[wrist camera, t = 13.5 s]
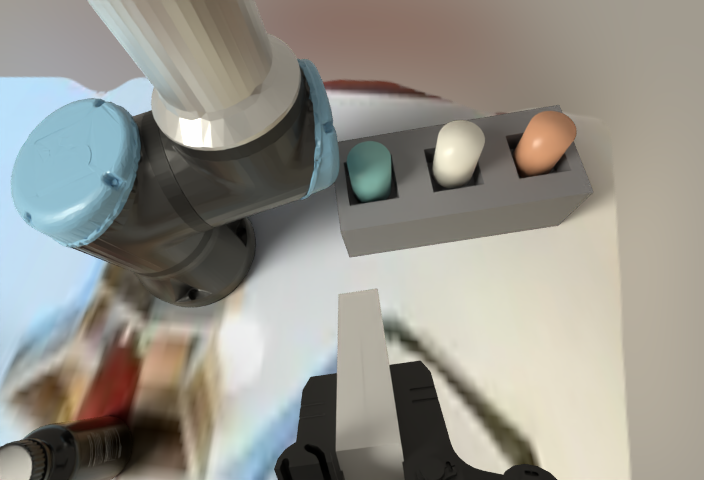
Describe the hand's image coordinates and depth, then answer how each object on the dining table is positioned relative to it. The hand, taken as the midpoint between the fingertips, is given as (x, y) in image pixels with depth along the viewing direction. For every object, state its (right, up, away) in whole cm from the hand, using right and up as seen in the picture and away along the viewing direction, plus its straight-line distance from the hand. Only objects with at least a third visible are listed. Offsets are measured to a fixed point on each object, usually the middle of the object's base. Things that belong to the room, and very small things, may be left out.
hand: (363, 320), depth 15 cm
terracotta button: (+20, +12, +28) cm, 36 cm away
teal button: (+2, +9, +29) cm, 30 cm away
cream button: (+11, +11, +27) cm, 31 cm away
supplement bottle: (-28, -21, +29) cm, 45 cm away
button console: (+11, +8, +35) cm, 38 cm away
